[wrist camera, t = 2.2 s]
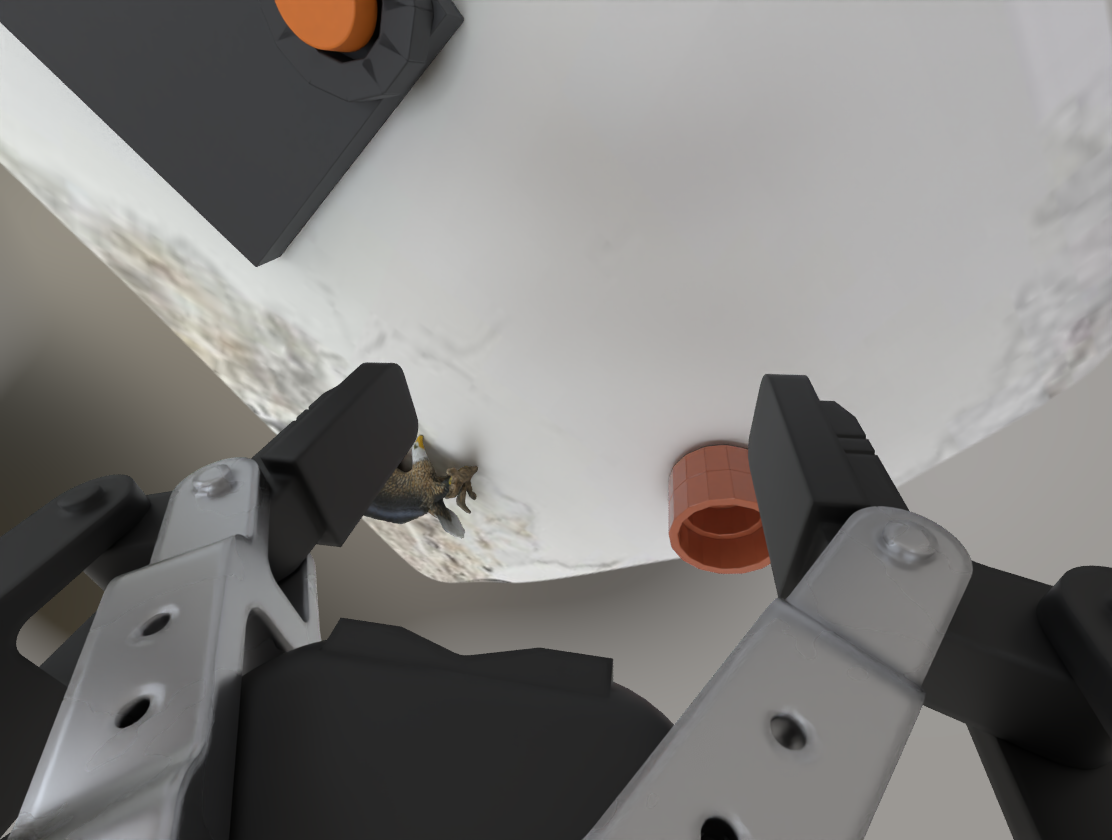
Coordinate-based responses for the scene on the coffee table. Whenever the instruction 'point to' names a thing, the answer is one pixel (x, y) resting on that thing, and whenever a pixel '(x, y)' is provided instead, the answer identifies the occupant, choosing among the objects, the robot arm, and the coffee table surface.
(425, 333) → the coffee table surface
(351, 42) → the button
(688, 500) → the brown cup
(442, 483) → the eagle figurine
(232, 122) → the scale
